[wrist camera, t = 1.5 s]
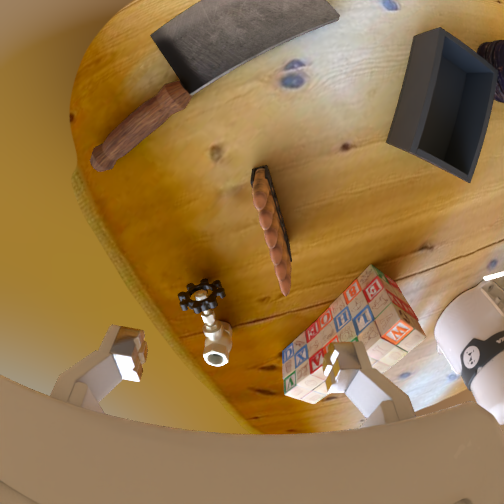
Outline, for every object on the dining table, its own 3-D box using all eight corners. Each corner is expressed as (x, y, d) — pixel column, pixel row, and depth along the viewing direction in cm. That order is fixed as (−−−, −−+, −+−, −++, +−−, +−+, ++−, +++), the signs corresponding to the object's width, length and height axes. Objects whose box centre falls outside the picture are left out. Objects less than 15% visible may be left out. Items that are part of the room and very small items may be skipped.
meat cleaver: (283, -40, 19) (284, -55, 16) (338, 24, 23) (346, 15, 20) (72, 111, 29) (54, 114, 26) (113, 171, 34) (98, 180, 30)
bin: (468, 71, 23) (498, 71, 18) (442, 169, 31) (470, 183, 25) (413, 36, 23) (440, 26, 17) (385, 142, 30) (409, 151, 24)
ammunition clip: (289, 243, 37) (297, 300, 27) (275, 246, 38) (278, 305, 27) (267, 164, 32) (267, 194, 22) (251, 169, 33) (244, 200, 22)
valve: (243, 336, 46) (227, 275, 40) (240, 366, 40) (220, 305, 34) (205, 338, 46) (183, 280, 41) (198, 368, 41) (171, 309, 35)
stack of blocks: (308, 362, 48) (314, 420, 38) (281, 350, 47) (282, 411, 36) (396, 282, 39) (428, 338, 29) (370, 262, 38) (401, 319, 27)
